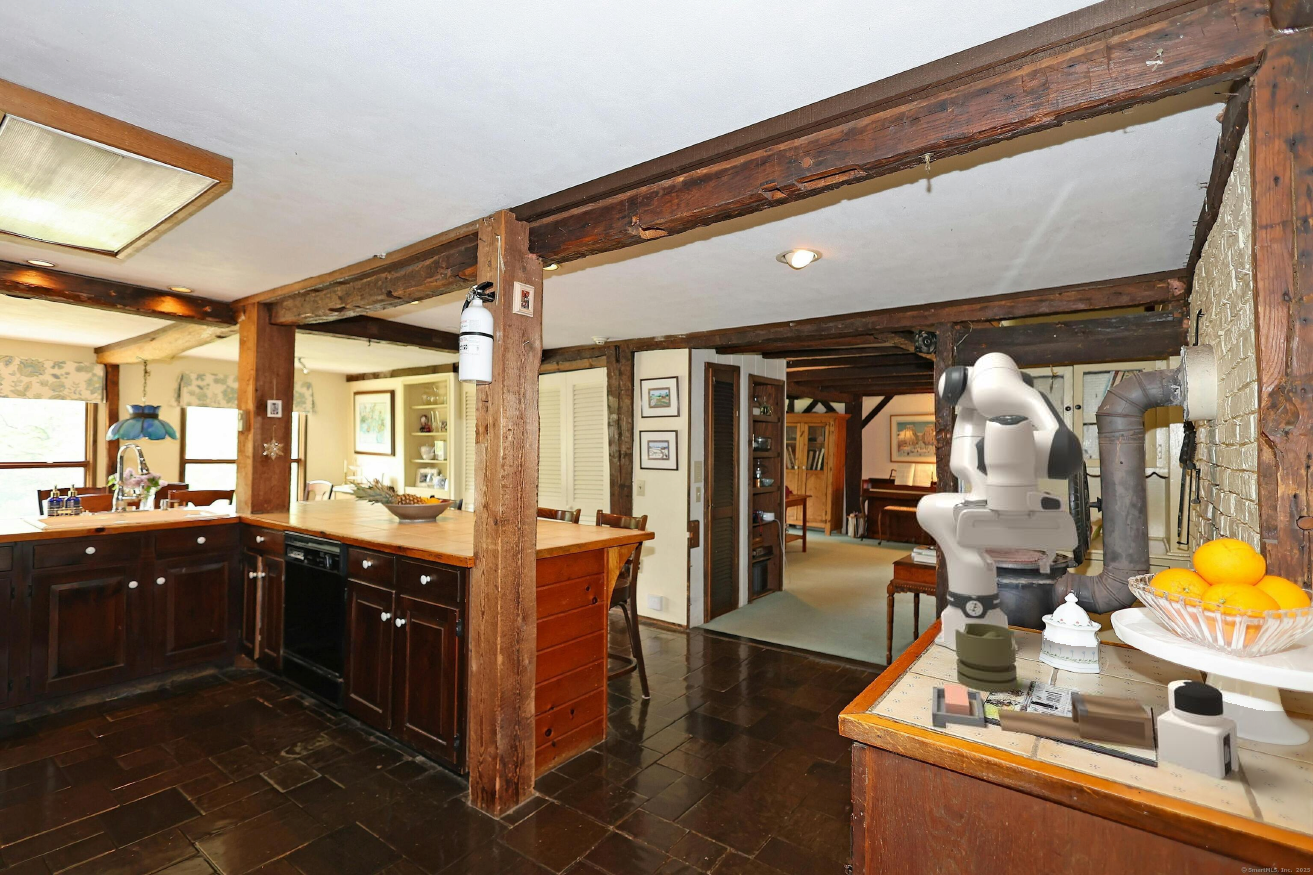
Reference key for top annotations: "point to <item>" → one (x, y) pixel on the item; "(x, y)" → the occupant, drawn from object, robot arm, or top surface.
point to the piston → (986, 657)
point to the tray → (942, 717)
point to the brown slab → (1088, 722)
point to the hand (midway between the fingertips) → (1016, 571)
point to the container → (1197, 730)
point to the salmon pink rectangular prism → (956, 700)
